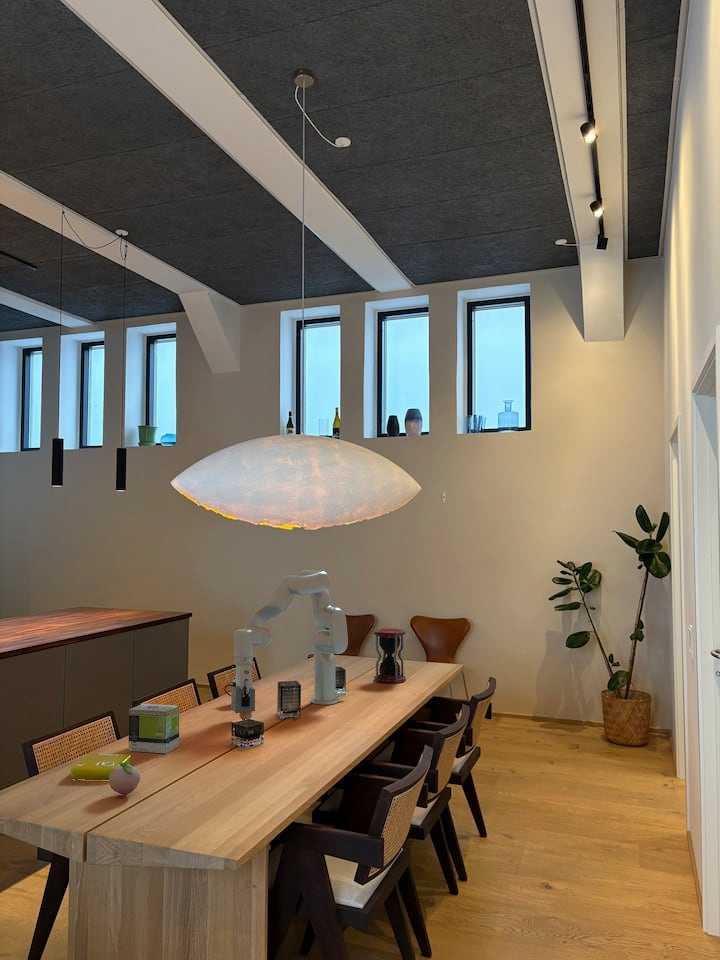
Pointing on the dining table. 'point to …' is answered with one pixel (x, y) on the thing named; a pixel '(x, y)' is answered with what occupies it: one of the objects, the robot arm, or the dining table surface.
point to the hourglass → (389, 656)
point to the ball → (245, 715)
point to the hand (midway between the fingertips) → (243, 703)
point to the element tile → (98, 766)
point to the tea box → (154, 728)
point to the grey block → (237, 700)
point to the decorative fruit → (124, 778)
